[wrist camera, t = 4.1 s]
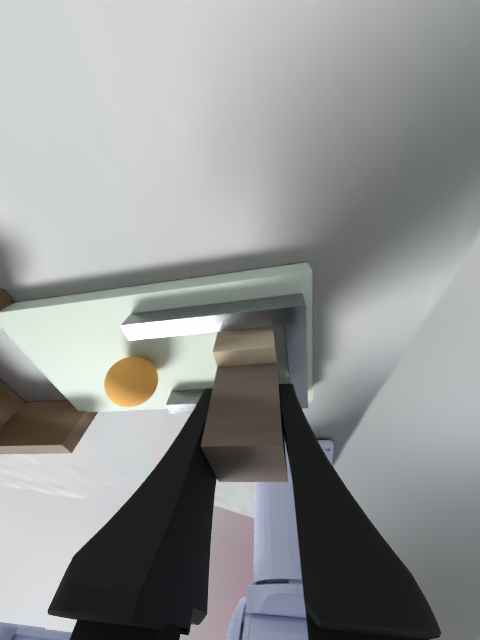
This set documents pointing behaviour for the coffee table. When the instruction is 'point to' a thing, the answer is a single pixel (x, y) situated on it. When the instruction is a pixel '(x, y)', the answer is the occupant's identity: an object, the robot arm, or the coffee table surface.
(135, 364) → the ball
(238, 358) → the block
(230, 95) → the coffee table surface
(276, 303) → the rail
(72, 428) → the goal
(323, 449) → the robot arm
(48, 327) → the plate
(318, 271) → the coffee table surface
